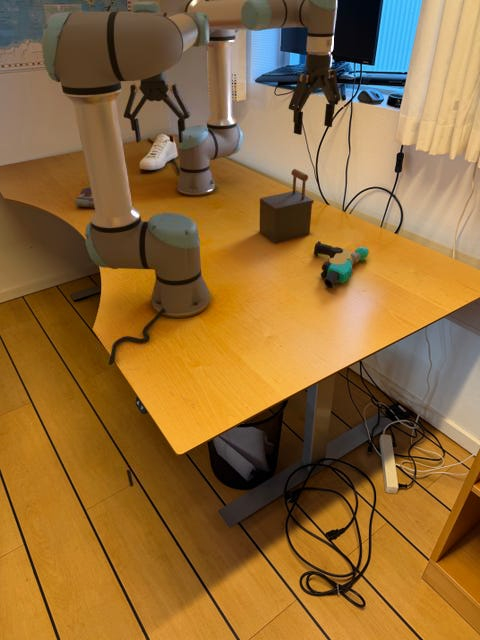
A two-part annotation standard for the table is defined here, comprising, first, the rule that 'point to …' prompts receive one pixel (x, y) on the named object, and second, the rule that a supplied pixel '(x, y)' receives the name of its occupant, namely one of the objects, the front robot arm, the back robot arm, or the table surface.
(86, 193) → the toy gun
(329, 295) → the table surface
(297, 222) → the chest
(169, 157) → the sneaker
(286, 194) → the lid
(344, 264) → the toy gun
